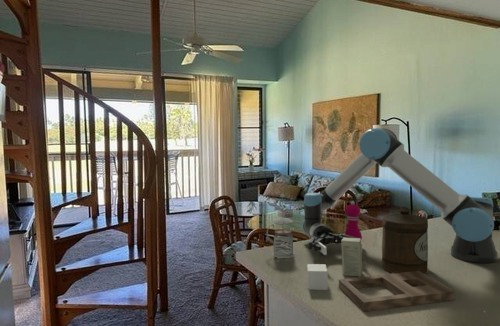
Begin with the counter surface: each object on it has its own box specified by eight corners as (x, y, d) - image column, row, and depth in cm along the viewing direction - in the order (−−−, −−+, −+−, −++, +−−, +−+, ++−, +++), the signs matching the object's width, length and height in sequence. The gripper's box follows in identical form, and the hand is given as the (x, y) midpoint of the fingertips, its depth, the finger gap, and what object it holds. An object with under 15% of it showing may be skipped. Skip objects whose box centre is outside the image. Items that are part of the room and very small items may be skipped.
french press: (294, 259, 138) (293, 196, 136) (265, 258, 140) (263, 196, 138) (296, 251, 147) (295, 192, 146) (269, 250, 150) (267, 192, 148)
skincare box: (362, 272, 122) (362, 238, 121) (361, 277, 118) (360, 241, 117) (343, 270, 125) (343, 236, 124) (341, 274, 121) (341, 240, 120)
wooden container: (430, 278, 115) (430, 212, 114) (382, 273, 121) (381, 210, 119) (425, 263, 129) (425, 204, 128) (382, 259, 134) (381, 202, 133)
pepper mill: (343, 248, 148) (342, 202, 147) (345, 244, 155) (344, 199, 154) (361, 250, 146) (360, 202, 144) (362, 245, 152) (362, 199, 151)
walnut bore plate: (418, 278, 116) (418, 270, 116) (454, 299, 100) (455, 291, 100) (338, 287, 111) (338, 279, 111) (364, 311, 95) (364, 302, 95)
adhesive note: (327, 290, 109) (327, 271, 109) (308, 289, 110) (307, 271, 110) (325, 282, 115) (325, 264, 115) (307, 281, 116) (307, 264, 116)
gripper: (349, 240, 149) (375, 256, 129) (292, 245, 145) (310, 263, 124) (349, 223, 149) (375, 236, 128) (292, 227, 145) (310, 242, 124)
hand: (343, 249), depth 126 cm, fingers open, 13 cm apart
